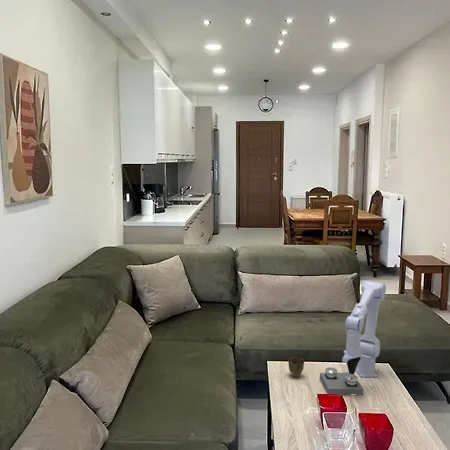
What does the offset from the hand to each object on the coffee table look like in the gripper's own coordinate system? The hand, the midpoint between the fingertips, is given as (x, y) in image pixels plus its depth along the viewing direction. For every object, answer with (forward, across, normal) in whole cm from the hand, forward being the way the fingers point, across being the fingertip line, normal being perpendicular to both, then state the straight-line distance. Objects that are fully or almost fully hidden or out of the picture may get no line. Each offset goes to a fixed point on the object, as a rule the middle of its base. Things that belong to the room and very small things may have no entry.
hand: (351, 373), depth 203 cm
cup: (+8, +5, -25) cm, 27 cm away
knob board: (+8, 0, -5) cm, 10 cm away
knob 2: (+6, 0, 0) cm, 6 cm away
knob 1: (+6, 0, -10) cm, 11 cm away
